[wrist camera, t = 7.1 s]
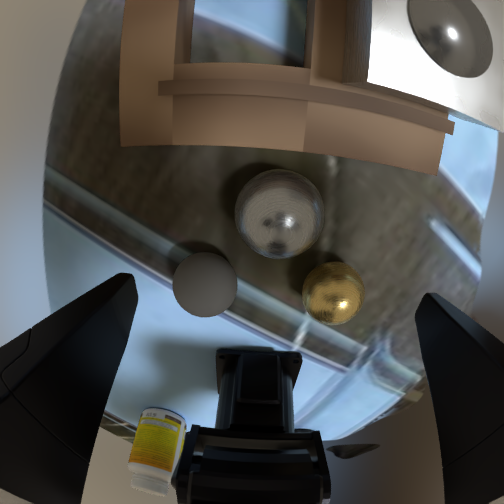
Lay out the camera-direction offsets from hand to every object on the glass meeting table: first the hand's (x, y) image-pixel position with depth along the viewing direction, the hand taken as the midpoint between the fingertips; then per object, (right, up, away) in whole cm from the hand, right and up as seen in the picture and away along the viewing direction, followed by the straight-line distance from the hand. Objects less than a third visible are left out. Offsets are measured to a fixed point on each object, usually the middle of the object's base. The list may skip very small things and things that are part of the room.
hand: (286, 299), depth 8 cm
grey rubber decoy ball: (-3, 0, +7) cm, 8 cm away
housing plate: (+1, +12, +2) cm, 12 cm away
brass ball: (+4, -1, +7) cm, 8 cm away
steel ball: (0, +3, +5) cm, 6 cm away
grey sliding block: (+6, +10, 0) cm, 11 cm away
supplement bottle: (-11, -18, +21) cm, 30 cm away
